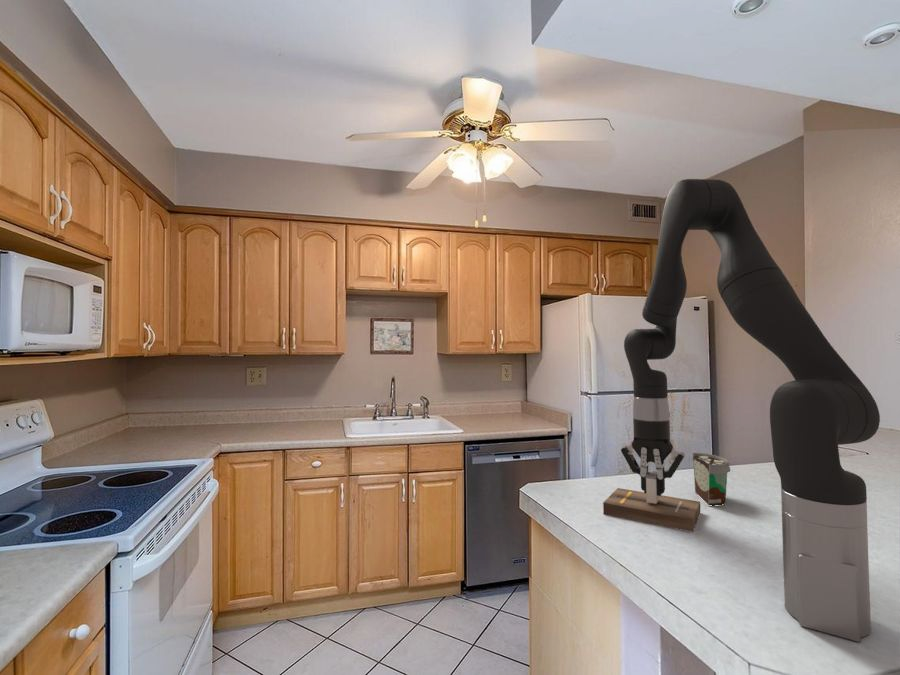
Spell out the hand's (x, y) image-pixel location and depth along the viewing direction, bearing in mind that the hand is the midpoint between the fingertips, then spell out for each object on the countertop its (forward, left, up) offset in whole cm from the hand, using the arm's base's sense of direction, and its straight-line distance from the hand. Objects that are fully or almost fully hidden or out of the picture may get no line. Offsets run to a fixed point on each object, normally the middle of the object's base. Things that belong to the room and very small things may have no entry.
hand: (653, 493), depth 100 cm
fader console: (0, 0, -5) cm, 5 cm away
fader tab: (0, 0, -2) cm, 2 cm away
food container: (+17, -11, -5) cm, 21 cm away
